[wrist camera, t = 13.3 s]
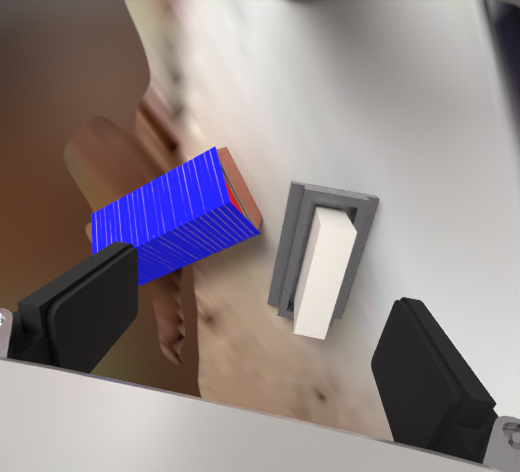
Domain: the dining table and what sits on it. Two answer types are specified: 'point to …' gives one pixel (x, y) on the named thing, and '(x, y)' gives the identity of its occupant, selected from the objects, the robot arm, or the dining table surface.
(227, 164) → the blue shipping container
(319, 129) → the dining table surface
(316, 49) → the dining table surface
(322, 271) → the white block
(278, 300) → the grey holder tray
